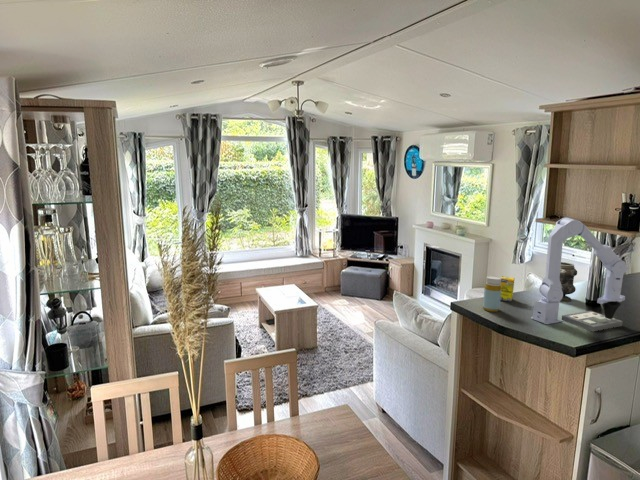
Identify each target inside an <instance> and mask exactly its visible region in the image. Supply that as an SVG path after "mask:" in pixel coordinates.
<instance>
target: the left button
mask: <svg viewBox="0 0 640 480" xmlns="http://www.w3.org/2000/svg"><path fill="white" fill-rule="evenodd" d="M582 322H584V323H586V324H589V325H593V324H596V322H593V321H591V320H583V321H582Z"/></svg>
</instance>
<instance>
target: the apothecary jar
mask: <svg viewBox="0 0 640 480" xmlns="http://www.w3.org/2000/svg"><path fill="white" fill-rule="evenodd" d="M577 275H578V270H577V269H576V268H575V264H574V263H570V262H566V261H565V262H564V261H561V267H560V282H561V289H562V292H563V297H562V299H561V300H560V301H559V302H572V301H573V300H572V298H571V297H570V296H569V295H571V294H573V293H575V292H576V290H577V289H576V286H575V285H574V279H575V277H576V276H577ZM567 295H568V296H567Z"/></svg>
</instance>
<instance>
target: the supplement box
mask: <svg viewBox="0 0 640 480" xmlns="http://www.w3.org/2000/svg"><path fill="white" fill-rule="evenodd" d="M500 278H501V298H500V302H502V301H503V302H508V303H512V300H513V298H514V297H513V296H514V289H515V288H514V287H515V277H509V276H501V277H500Z"/></svg>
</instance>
